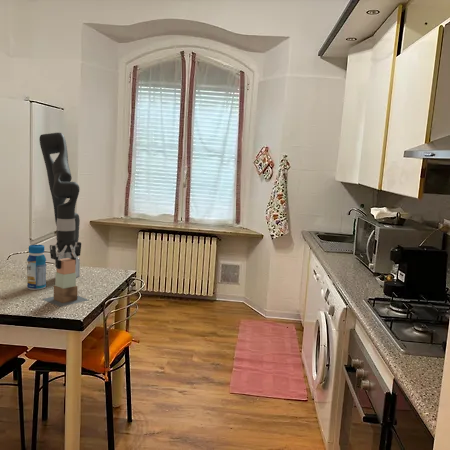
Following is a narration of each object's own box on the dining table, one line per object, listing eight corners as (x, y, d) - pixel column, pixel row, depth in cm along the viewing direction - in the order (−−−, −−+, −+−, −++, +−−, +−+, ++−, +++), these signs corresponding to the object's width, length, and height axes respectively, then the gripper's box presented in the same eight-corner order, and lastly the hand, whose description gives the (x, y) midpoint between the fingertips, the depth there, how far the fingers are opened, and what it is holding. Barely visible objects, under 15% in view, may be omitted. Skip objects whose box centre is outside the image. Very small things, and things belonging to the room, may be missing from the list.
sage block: (67, 283, 203) (67, 270, 202) (75, 286, 199) (76, 272, 198) (55, 285, 198) (55, 272, 197) (63, 288, 195) (63, 274, 194)
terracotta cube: (67, 270, 202) (68, 257, 201) (75, 272, 198) (75, 260, 198) (56, 272, 198) (56, 259, 197) (63, 274, 194) (64, 261, 193)
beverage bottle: (45, 290, 213) (45, 247, 210) (25, 290, 210) (25, 247, 208) (47, 285, 221) (47, 244, 218) (28, 285, 218) (27, 244, 216)
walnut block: (68, 296, 204) (68, 282, 204) (77, 299, 200) (77, 286, 199) (53, 299, 199) (53, 285, 198) (62, 303, 195) (63, 289, 194)
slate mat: (70, 293, 209) (70, 292, 209) (89, 300, 201) (89, 299, 201) (41, 300, 198) (41, 299, 198) (60, 307, 190) (60, 306, 190)
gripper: (75, 226, 203) (75, 263, 206) (45, 229, 192) (45, 268, 194) (85, 228, 199) (85, 266, 201) (55, 231, 187) (55, 271, 190)
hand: (65, 267), depth 198 cm, fingers open, 6 cm apart
